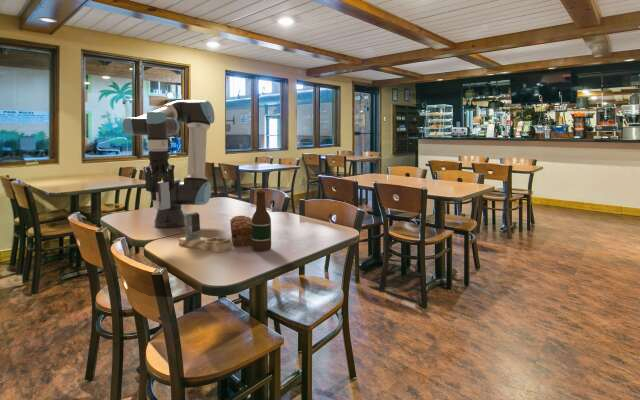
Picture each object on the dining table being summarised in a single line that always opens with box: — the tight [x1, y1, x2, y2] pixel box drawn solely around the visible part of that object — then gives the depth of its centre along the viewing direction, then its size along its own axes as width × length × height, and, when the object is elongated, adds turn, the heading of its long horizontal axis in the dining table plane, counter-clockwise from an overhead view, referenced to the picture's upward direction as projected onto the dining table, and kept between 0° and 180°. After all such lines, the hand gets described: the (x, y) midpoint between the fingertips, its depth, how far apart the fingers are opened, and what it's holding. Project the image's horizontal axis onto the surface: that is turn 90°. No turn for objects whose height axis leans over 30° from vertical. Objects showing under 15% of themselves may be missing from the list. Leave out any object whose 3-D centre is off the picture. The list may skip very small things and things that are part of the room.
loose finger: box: [155, 181, 170, 210], centre depth 165 cm, size 5×4×11 cm
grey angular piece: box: [178, 211, 232, 253], centre depth 166 cm, size 23×7×14 cm, turn 60°
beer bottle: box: [251, 190, 272, 253], centre depth 161 cm, size 8×8×24 cm
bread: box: [229, 215, 252, 247], centre depth 176 cm, size 19×11×10 cm, turn 14°
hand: (161, 206), depth 166 cm, fingers closed on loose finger, 5 cm apart
